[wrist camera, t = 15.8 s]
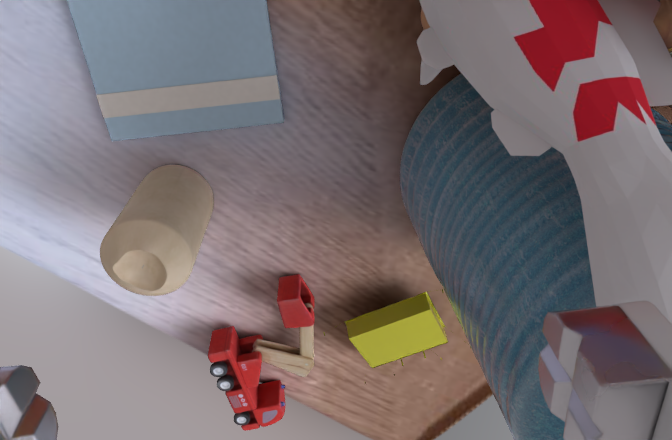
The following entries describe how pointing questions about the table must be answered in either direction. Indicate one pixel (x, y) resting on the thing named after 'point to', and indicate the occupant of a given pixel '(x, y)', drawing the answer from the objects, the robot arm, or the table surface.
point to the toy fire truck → (264, 358)
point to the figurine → (665, 24)
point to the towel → (179, 64)
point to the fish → (578, 116)
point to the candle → (159, 231)
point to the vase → (499, 242)
